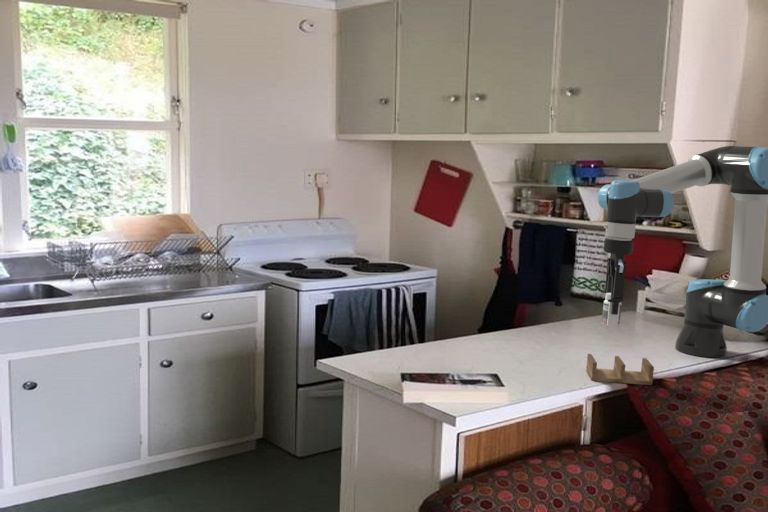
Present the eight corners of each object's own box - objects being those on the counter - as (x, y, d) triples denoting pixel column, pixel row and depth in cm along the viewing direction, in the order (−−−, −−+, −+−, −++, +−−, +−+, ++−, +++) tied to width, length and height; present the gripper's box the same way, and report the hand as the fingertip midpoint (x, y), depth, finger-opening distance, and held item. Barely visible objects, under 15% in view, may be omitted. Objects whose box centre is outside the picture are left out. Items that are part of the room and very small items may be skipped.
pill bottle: (616, 322, 222) (619, 292, 221) (621, 326, 218) (625, 296, 217) (599, 321, 222) (602, 291, 221) (604, 325, 218) (607, 295, 216)
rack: (644, 375, 226) (646, 358, 225) (652, 385, 217) (654, 367, 216) (586, 371, 227) (587, 353, 226) (591, 380, 218) (593, 362, 217)
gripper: (599, 233, 226) (590, 315, 229) (611, 241, 208) (602, 329, 211) (626, 235, 225) (617, 317, 228) (641, 243, 208) (631, 332, 211)
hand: (610, 323), depth 220 cm, fingers closed on pill bottle, 5 cm apart
